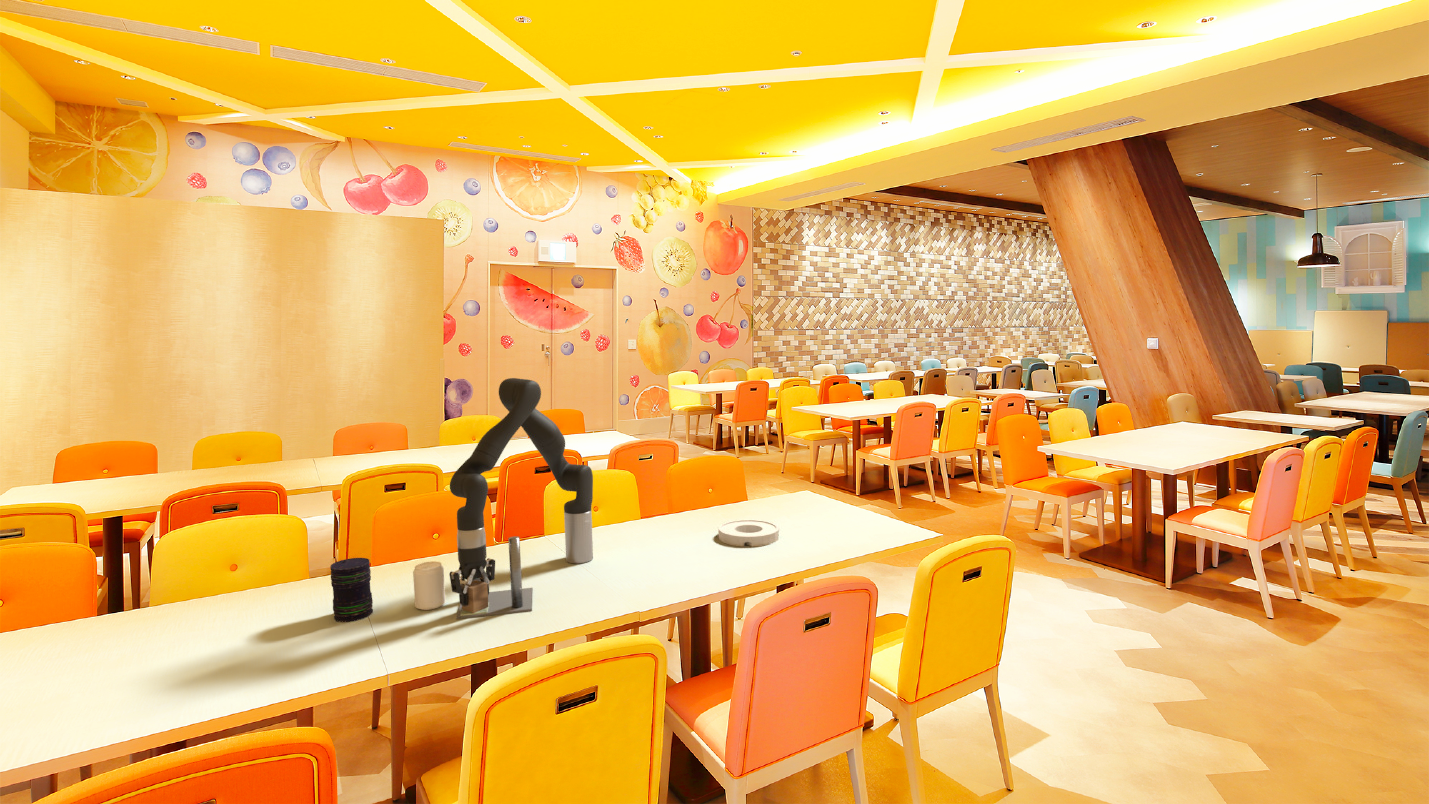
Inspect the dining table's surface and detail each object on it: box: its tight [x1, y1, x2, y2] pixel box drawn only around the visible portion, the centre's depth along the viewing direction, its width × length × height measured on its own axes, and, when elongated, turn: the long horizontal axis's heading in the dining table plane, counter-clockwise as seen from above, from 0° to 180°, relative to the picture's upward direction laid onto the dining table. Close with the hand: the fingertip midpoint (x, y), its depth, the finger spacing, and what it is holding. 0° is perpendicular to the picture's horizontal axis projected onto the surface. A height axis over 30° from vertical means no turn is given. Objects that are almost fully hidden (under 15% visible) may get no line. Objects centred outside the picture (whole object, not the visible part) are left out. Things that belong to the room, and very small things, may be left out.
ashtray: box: [717, 518, 780, 547], centre depth 258 cm, size 23×23×4 cm
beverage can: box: [412, 560, 446, 611], centre depth 195 cm, size 8×8×12 cm
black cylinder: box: [329, 557, 374, 623], centre depth 189 cm, size 10×10×15 cm
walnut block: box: [462, 580, 488, 613], centre depth 191 cm, size 5×5×7 cm
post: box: [507, 535, 523, 609], centre depth 192 cm, size 3×3×20 cm
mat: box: [456, 587, 534, 620], centre depth 197 cm, size 17×20×1 cm
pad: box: [461, 607, 488, 614], centre depth 191 cm, size 7×7×1 cm
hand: (474, 601), depth 191 cm, fingers open, 6 cm apart
